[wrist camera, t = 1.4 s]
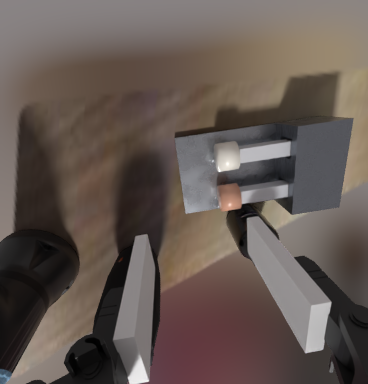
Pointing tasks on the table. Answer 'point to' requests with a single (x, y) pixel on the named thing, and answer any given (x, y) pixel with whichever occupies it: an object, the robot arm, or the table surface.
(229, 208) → the knob terracotta
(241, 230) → the supplement bottle
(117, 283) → the portable speaker
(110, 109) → the table surface
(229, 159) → the knob cream
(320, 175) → the mount
